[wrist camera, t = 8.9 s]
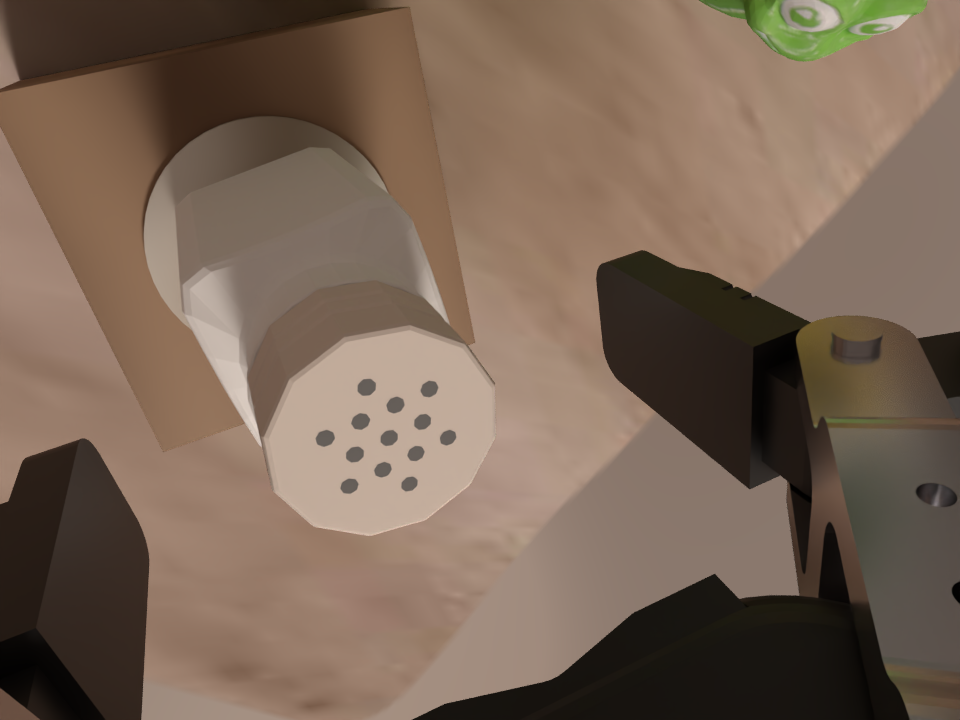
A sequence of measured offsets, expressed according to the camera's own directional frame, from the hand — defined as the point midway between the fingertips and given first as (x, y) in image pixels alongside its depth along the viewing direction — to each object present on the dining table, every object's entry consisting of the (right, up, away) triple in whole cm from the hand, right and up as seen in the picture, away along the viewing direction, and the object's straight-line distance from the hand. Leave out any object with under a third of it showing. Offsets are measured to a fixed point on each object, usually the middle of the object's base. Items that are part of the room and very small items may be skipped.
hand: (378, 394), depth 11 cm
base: (-5, +5, +10) cm, 12 cm away
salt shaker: (-3, +4, +6) cm, 8 cm away
